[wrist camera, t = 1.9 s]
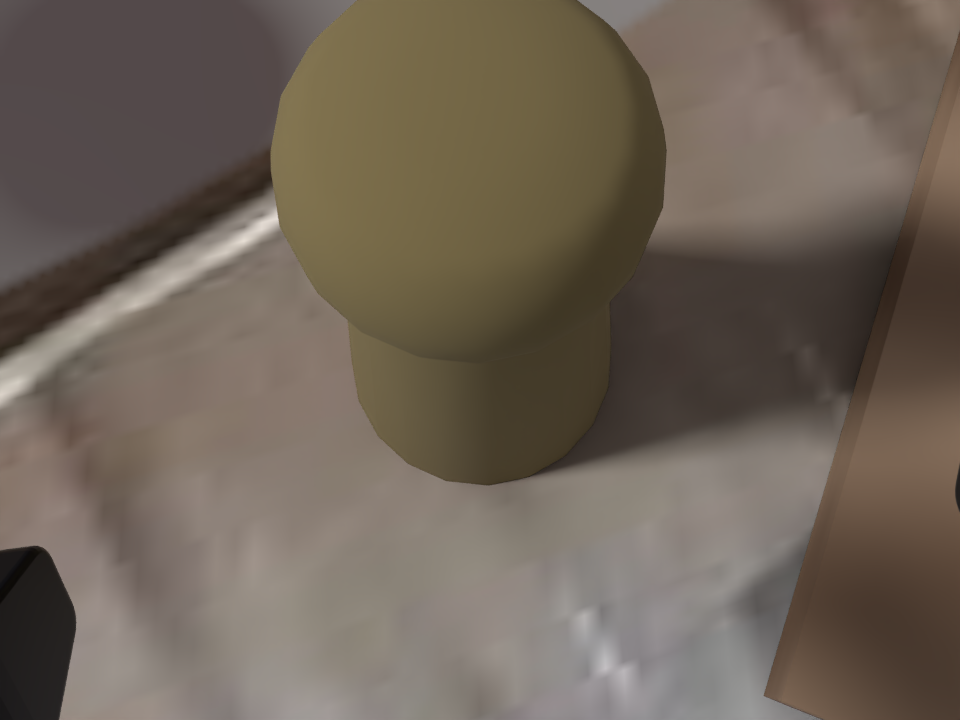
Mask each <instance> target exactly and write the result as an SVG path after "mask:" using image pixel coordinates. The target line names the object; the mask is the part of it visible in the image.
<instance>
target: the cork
mask: <svg viewBox="0 0 960 720" xmlns="http://www.w3.org/2000/svg"><path fill="white" fill-rule="evenodd" d="M666 151H667V150H666V142H665V134H664V128H663V125H662V121H661V118H660V115H659V111H658V108H657V104H656V101H655V98H654V94H653V91H652V87H651V84H650V81H649V77H648V75H647V74H646V73H645V71H644V70H643V68H642V67H641V65H640V64H639V63H638V61H637V60H636V58H635V57H634V56H633V54H632V53H631V51H630V50H629V49H628V47H627V46H626V44H625V43H624V42H623V40H622V39H621V37H620V36H619V35H618V33H617V32H616V31H615V30H614V29H613V28H612V27H611V26H610V25H609V24H607V23H606V22H605V21H604V20H603V19H601V18H600V17H599V16H597V15H596V14H595V13H593V12H592V11H591V10H589V9H588V8H587V7H585V6H584V5H582V4H581V3H580V2H579V1H577V0H357V1H356V2H355V3H354V4H353V5H352V6H350V7H349V8H348V9H347V10H346V11H345V12H344V13H343V14H342V15H341V16H340V17H339V18H338V19H336V20H335V21H334V22H333V23H332V24H331V25H330V26H329V27H328V28H327V29H325V30H324V31H323V32H322V33H321V34H320V35H319V36H318V37H317V38H316V40H315V41H314V42H313V43H312V44H311V45H310V47H309V48H308V50H307V51H306V53H305V55H304V57H303V58H302V60H301V62H300V64H299V66H298V67H297V69H296V71H295V72H294V74H293V76H292V78H291V79H290V81H289V83H288V85H287V86H286V88H285V90H284V92H283V93H282V95H281V99H280V104H279V110H278V115H277V120H276V126H275V131H274V136H273V141H272V147H271V175H272V181H273V187H274V193H275V200H276V206H277V212H278V218H279V224H280V228H281V230H282V232H283V234H284V235H285V237H286V239H287V241H288V243H289V244H290V246H291V248H292V250H293V252H294V253H295V255H296V257H297V259H298V261H299V262H300V264H301V266H302V268H303V270H304V271H305V273H306V275H307V277H308V279H309V280H310V282H311V283H312V285H313V287H314V288H315V290H316V291H317V293H318V294H319V295H320V296H321V297H322V298H324V299H325V300H326V301H327V302H328V303H329V304H330V305H331V306H332V307H334V308H335V309H336V310H337V311H338V312H339V313H340V314H341V315H343V316H344V317H345V318H346V319H347V320H348V328H349V338H350V348H351V357H352V365H353V371H354V376H355V382H356V388H357V394H358V399H359V402H360V404H361V406H362V408H363V410H364V411H365V413H366V415H367V417H368V419H369V420H370V422H371V424H372V426H373V428H374V430H375V431H376V433H377V435H378V436H379V437H380V438H381V439H382V440H383V441H384V442H385V443H386V444H387V445H388V446H389V447H390V448H392V449H393V450H394V451H395V452H396V453H397V454H398V455H399V456H400V457H401V458H402V459H404V460H405V461H406V462H407V463H408V464H410V465H412V466H414V467H416V468H419V469H421V470H423V471H425V472H428V473H430V474H432V475H434V476H436V477H439V478H441V479H443V480H445V481H452V482H462V483H471V484H480V485H492V484H497V483H501V482H506V481H511V480H516V479H520V478H525V477H529V476H531V475H533V474H535V473H536V472H538V471H540V470H542V469H543V468H545V467H547V466H548V465H550V464H552V463H554V462H555V461H557V460H559V459H561V458H562V457H564V456H566V454H567V453H568V452H569V451H570V450H571V449H572V448H573V447H574V445H575V444H576V443H577V442H578V441H579V440H580V439H581V438H582V436H583V435H584V434H585V433H586V432H587V431H588V430H589V429H590V427H591V426H592V425H593V423H594V421H595V418H596V416H597V413H598V411H599V409H600V406H601V404H602V402H603V399H604V397H605V395H606V392H607V390H608V385H609V371H610V358H611V328H610V301H611V300H612V299H613V298H614V297H615V296H616V294H617V293H618V292H619V291H620V290H621V289H622V288H623V287H624V286H625V285H626V284H627V282H628V281H629V280H630V279H631V278H632V277H633V275H634V273H635V270H636V268H637V266H638V264H639V262H640V259H641V257H642V255H643V252H644V250H645V248H646V245H647V243H648V241H649V238H650V236H651V234H652V231H653V229H654V227H655V225H656V222H657V220H658V218H659V215H660V213H661V211H662V208H663V200H664V184H665V167H666Z"/></svg>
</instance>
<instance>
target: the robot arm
mask: <svg viewBox="0 0 960 720" xmlns="http://www.w3.org/2000/svg"><path fill="white" fill-rule="evenodd" d="M955 498H956V503H957V507H958V510H959V512H960V464H959V469H958V474H957V479H956V484H955ZM75 632H76V614H75V610H74V606H73V604H72V601H71V599H70V597H69V595H68V593H67V590H66V588H65V586H64V584H63V582H62V579H61V577H60V575H59V573H58V571H57V568H56V566H55V564H54V562H53V560H52V558H51V556H50V554H49V553H48V552H47V551H46V550H45V549H44V548H42V547H39V546H28V547H21V548H13V549H6V550H1V551H0V720H59V717H60V712H61V707H62V701H63V696H64V691H65V686H66V680H67V675H68V670H69V664H70V659H71V654H72V648H73V643H74V638H75Z"/></svg>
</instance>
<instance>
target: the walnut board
mask: <svg viewBox="0 0 960 720" xmlns="http://www.w3.org/2000/svg"><path fill="white" fill-rule="evenodd" d="M959 464H960V32H959V36H958V39H957V43H956V46H955V49H954V53H953V56H952V60H951V63H950V66H949V70H948V73H947V76H946V80H945V83H944V87H943V90H942V93H941V97H940V100H939V104H938V107H937V110H936V114H935V117H934V121H933V124H932V127H931V131H930V134H929V137H928V141H927V144H926V148H925V151H924V154H923V158H922V161H921V165H920V168H919V171H918V175H917V178H916V182H915V185H914V188H913V192H912V195H911V198H910V202H909V205H908V209H907V212H906V215H905V219H904V222H903V226H902V229H901V232H900V236H899V239H898V243H897V246H896V249H895V253H894V256H893V259H892V263H891V266H890V270H889V273H888V276H887V280H886V283H885V287H884V290H883V293H882V297H881V300H880V303H879V307H878V310H877V314H876V317H875V320H874V324H873V327H872V331H871V334H870V337H869V341H868V344H867V348H866V351H865V354H864V358H863V361H862V364H861V368H860V371H859V375H858V378H857V381H856V385H855V388H854V392H853V395H852V398H851V402H850V405H849V409H848V412H847V415H846V419H845V422H844V425H843V429H842V432H841V436H840V439H839V442H838V446H837V449H836V453H835V456H834V459H833V463H832V466H831V470H830V473H829V476H828V480H827V483H826V486H825V490H824V493H823V497H822V500H821V503H820V507H819V510H818V514H817V517H816V520H815V524H814V527H813V531H812V534H811V537H810V541H809V544H808V547H807V551H806V554H805V558H804V561H803V564H802V568H801V571H800V575H799V578H798V581H797V585H796V588H795V591H794V595H793V598H792V602H791V605H790V608H789V612H788V615H787V619H786V622H785V625H784V629H783V632H782V636H781V639H780V642H779V646H778V649H777V652H776V656H775V659H774V663H773V666H772V669H771V673H770V676H769V680H768V683H767V686H766V690H765V693H764V696H765V697H768V698H770V699H773V700H775V701H778V702H780V703H782V704H785V705H787V706H790V707H792V708H795V709H797V710H800V711H802V712H805V713H807V714H810V715H812V716H815V717H817V718H820V719H822V720H960V512H959V510H958V507H957V503H956V498H955V484H956V479H957V474H958V469H959Z"/></svg>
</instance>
